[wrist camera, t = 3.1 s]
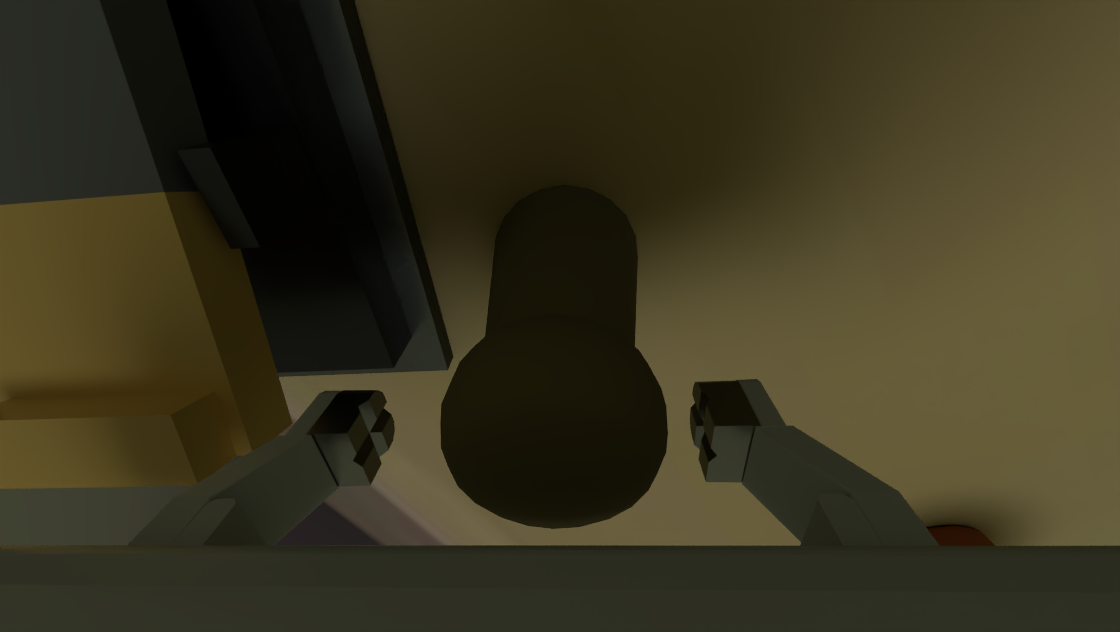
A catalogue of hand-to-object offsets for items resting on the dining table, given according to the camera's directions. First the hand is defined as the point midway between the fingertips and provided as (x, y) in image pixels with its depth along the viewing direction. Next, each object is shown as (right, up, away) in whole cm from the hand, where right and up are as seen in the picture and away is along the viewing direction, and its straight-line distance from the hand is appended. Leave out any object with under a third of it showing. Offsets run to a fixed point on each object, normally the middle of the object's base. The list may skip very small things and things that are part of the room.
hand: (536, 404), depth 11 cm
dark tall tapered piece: (+1, +5, +7) cm, 8 cm away
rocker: (-12, +5, 0) cm, 13 cm away
